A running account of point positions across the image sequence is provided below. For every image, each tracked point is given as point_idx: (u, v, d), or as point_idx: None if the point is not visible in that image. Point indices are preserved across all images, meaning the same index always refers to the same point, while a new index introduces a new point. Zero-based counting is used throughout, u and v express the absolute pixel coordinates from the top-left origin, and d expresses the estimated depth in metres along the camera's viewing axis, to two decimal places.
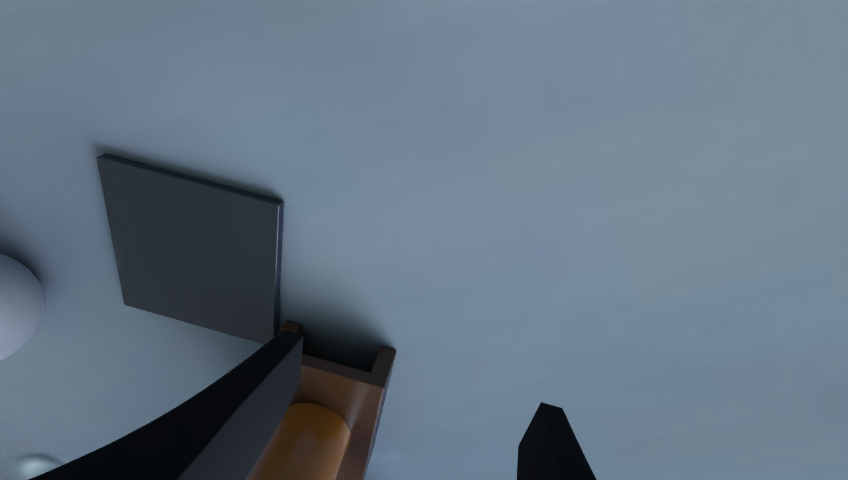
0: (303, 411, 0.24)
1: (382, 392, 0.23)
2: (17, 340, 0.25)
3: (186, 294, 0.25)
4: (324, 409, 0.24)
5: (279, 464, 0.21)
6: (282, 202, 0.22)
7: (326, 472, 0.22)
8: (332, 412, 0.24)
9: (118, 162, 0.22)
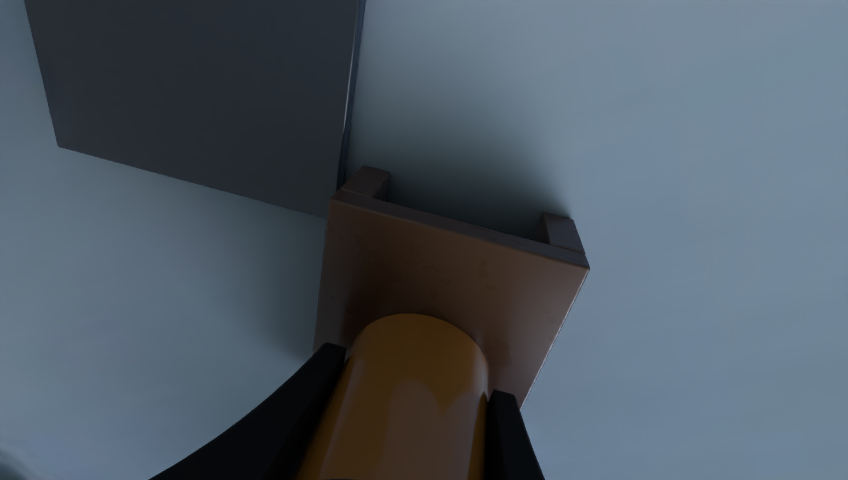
0: (406, 326, 0.12)
1: (583, 280, 0.11)
2: None
3: (170, 109, 0.13)
4: (446, 325, 0.12)
5: (383, 426, 0.09)
6: None
7: (478, 447, 0.10)
8: (461, 331, 0.12)
9: None
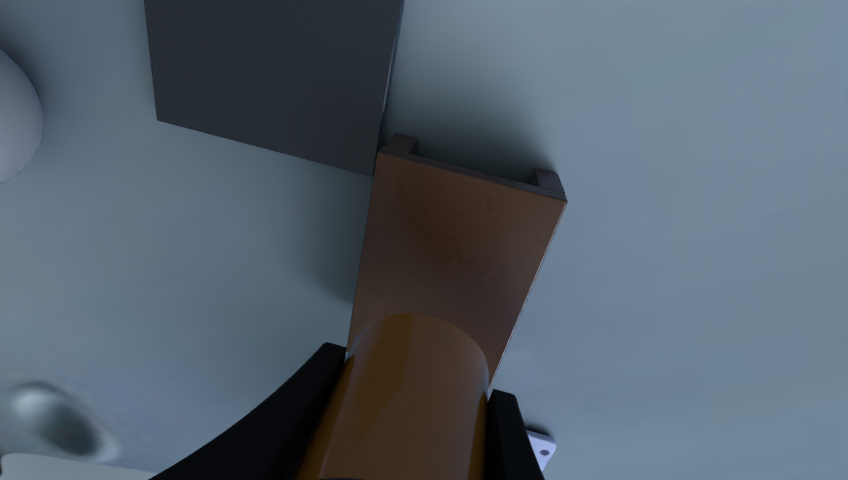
0: (406, 325, 0.12)
1: (562, 210, 0.15)
2: (2, 152, 0.17)
3: (251, 90, 0.17)
4: (446, 324, 0.12)
5: (384, 425, 0.09)
6: None
7: (478, 446, 0.10)
8: (461, 331, 0.12)
9: None
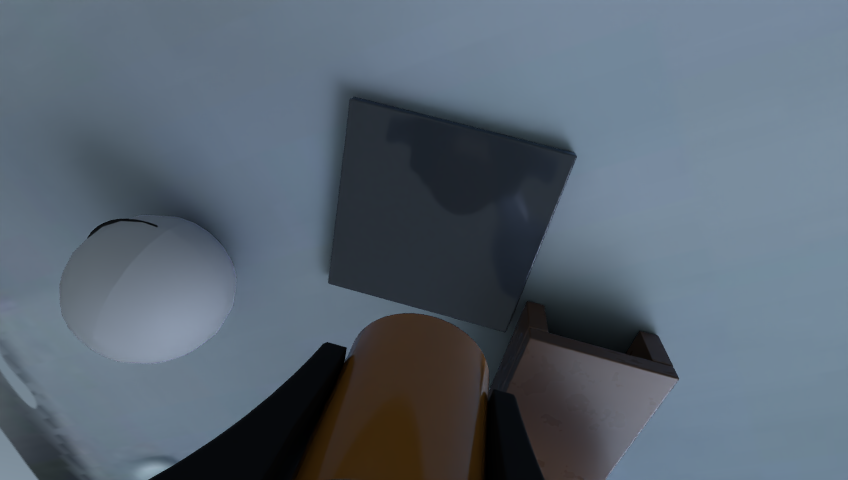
0: (406, 326, 0.12)
1: (674, 384, 0.19)
2: (221, 323, 0.21)
3: (414, 269, 0.21)
4: (447, 325, 0.12)
5: (383, 426, 0.09)
6: (574, 154, 0.18)
7: (478, 447, 0.10)
8: (461, 332, 0.12)
9: (377, 105, 0.18)
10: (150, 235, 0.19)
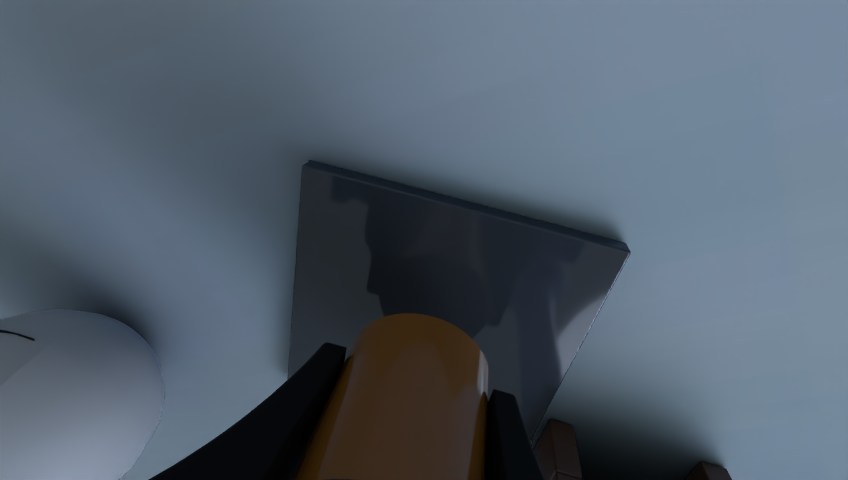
0: (406, 326, 0.12)
1: None
2: (136, 457, 0.15)
3: None
4: (446, 325, 0.12)
5: (383, 426, 0.09)
6: (626, 246, 0.12)
7: (478, 447, 0.10)
8: (461, 331, 0.12)
9: (341, 176, 0.12)
10: (20, 356, 0.13)
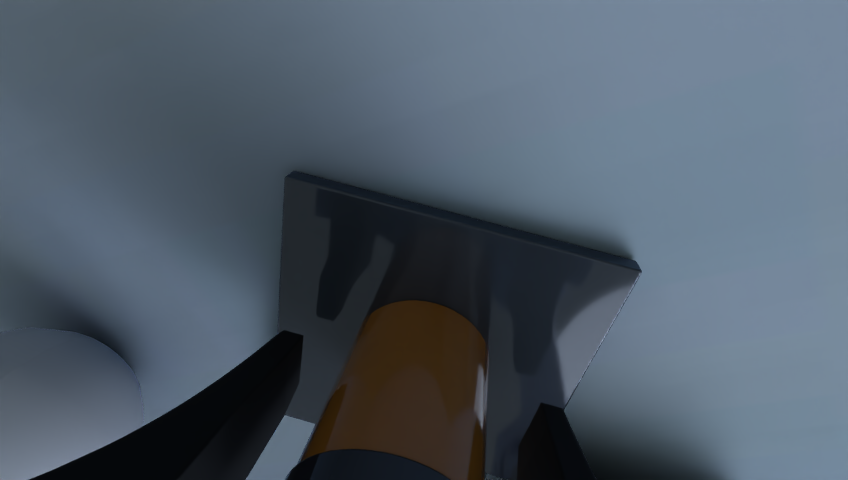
0: (409, 311, 0.12)
1: None
2: None
3: None
4: (448, 311, 0.12)
5: (390, 402, 0.09)
6: (637, 264, 0.11)
7: (480, 424, 0.10)
8: (462, 317, 0.13)
9: (327, 188, 0.11)
10: None
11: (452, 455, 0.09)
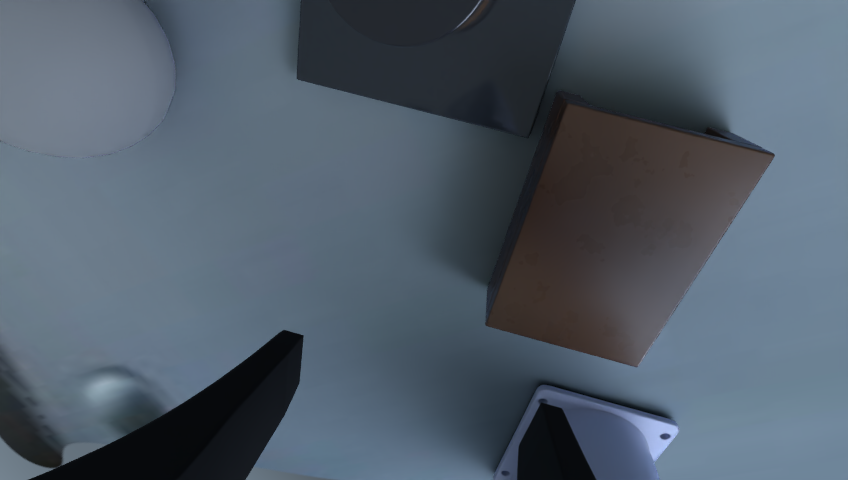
0: None
1: (767, 165, 0.14)
2: (149, 107, 0.16)
3: None
4: None
5: None
6: None
7: None
8: None
9: None
10: None
11: None
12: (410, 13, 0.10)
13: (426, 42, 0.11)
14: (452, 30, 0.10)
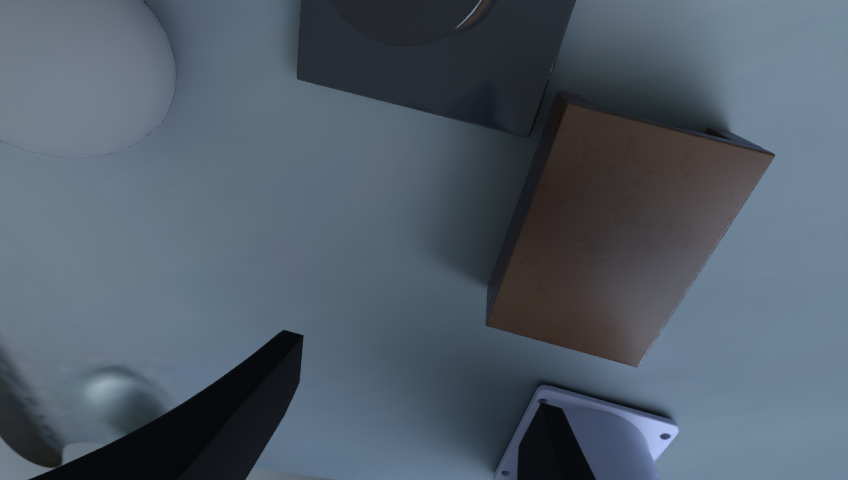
0: None
1: (767, 165, 0.14)
2: (149, 107, 0.16)
3: None
4: None
5: None
6: None
7: None
8: None
9: None
10: None
11: None
12: (410, 13, 0.10)
13: (426, 42, 0.11)
14: (452, 30, 0.10)
